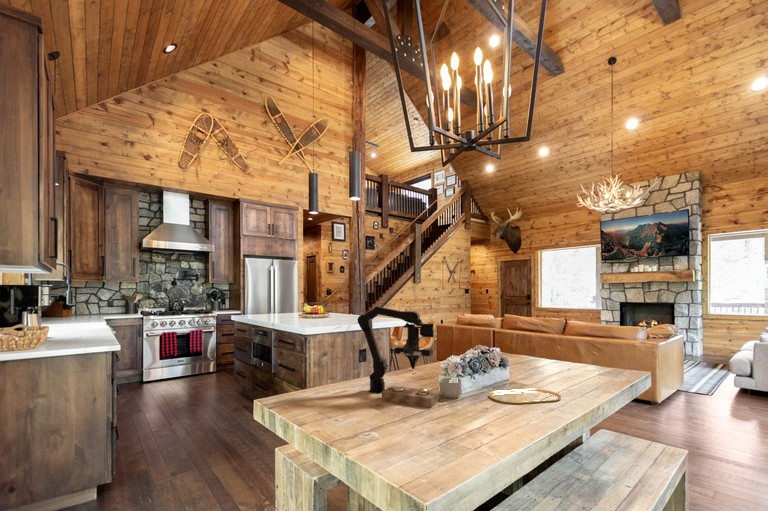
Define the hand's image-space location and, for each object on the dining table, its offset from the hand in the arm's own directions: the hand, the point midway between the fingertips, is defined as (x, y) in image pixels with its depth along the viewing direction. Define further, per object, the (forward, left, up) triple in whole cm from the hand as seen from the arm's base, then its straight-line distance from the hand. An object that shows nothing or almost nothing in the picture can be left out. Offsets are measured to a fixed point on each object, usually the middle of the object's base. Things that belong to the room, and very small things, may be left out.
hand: (413, 368), depth 190 cm
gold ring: (+50, +18, -13) cm, 55 cm away
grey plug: (-3, -11, -11) cm, 16 cm away
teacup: (+17, +5, -12) cm, 22 cm away
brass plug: (+9, -11, -10) cm, 17 cm away
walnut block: (+3, -11, -12) cm, 17 cm away
